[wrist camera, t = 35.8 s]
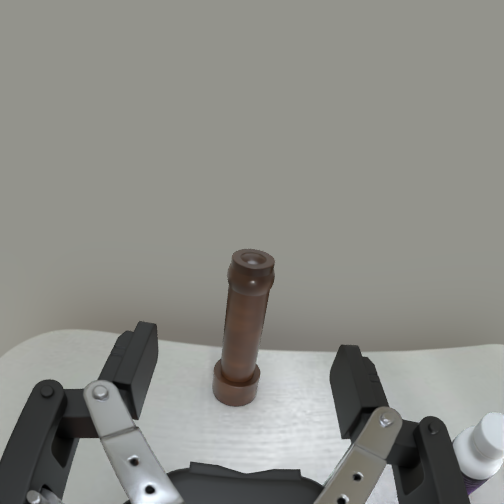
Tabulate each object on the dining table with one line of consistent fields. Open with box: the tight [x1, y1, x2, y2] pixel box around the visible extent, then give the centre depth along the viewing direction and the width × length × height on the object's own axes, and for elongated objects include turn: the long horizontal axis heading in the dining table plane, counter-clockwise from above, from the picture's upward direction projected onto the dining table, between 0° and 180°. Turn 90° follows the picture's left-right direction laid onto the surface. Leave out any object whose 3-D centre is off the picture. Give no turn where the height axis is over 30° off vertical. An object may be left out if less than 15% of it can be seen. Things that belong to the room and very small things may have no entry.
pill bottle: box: [452, 412, 504, 495], centre depth 17 cm, size 5×5×10 cm
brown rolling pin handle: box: [213, 249, 275, 406], centre depth 27 cm, size 4×4×15 cm
